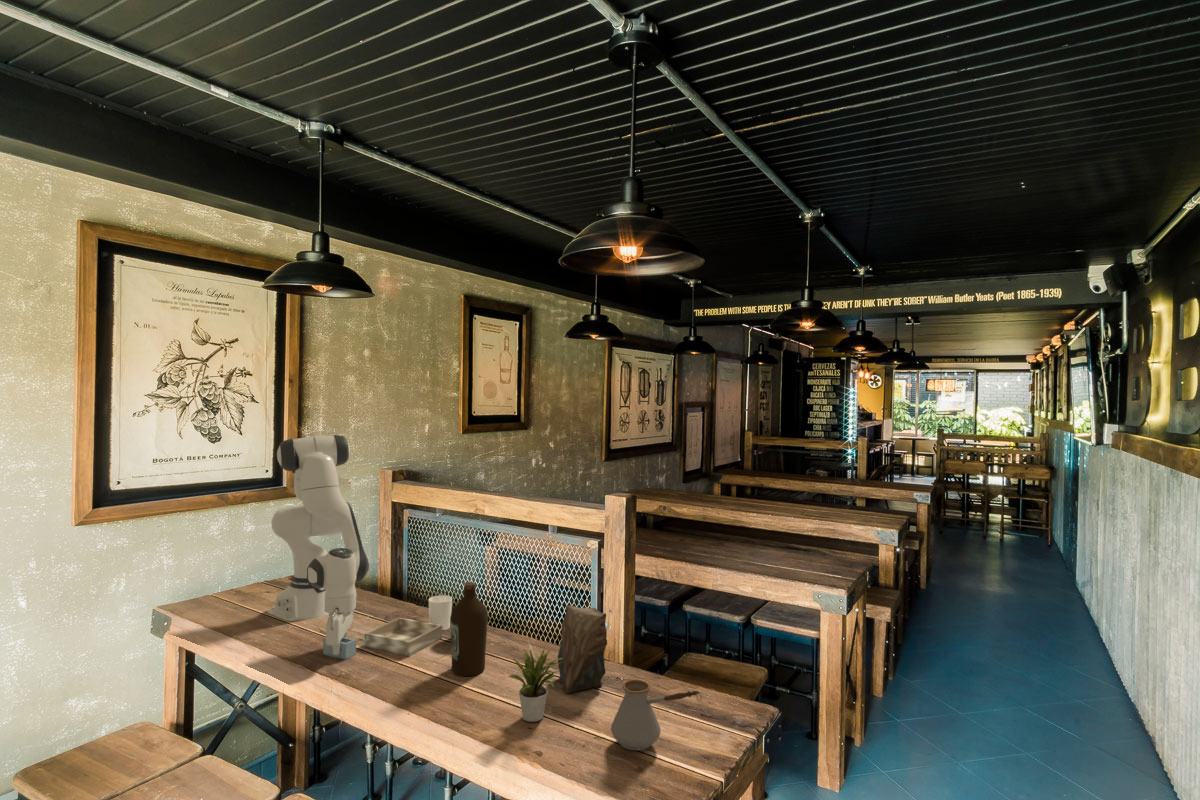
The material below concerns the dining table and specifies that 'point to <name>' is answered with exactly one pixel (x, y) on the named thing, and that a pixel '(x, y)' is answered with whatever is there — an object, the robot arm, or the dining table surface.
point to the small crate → (341, 648)
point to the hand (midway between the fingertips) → (339, 648)
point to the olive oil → (468, 634)
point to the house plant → (534, 686)
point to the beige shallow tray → (403, 636)
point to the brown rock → (582, 649)
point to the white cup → (440, 610)
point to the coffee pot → (639, 716)
